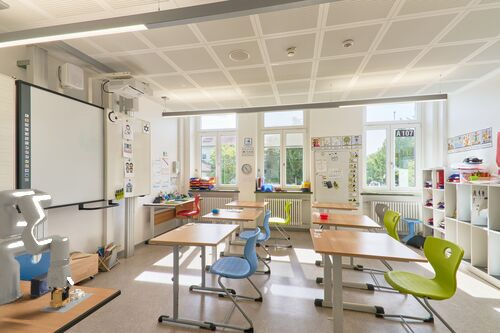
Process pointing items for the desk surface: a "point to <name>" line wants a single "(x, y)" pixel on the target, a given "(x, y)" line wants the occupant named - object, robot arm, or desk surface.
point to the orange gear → (58, 299)
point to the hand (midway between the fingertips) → (60, 298)
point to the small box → (39, 286)
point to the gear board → (67, 304)
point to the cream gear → (76, 295)
